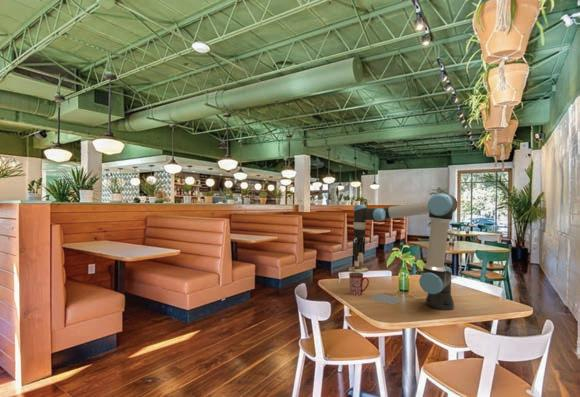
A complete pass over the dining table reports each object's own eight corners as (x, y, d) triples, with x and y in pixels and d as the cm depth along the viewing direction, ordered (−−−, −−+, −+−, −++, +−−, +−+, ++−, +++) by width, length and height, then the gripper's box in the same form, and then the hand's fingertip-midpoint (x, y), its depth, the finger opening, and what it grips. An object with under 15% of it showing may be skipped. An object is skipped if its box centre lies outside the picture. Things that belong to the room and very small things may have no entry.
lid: (371, 270, 205) (371, 253, 205) (362, 273, 195) (363, 255, 195) (354, 267, 212) (354, 250, 212) (345, 270, 203) (345, 252, 203)
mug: (346, 295, 202) (347, 274, 202) (350, 292, 210) (351, 271, 210) (366, 298, 196) (367, 276, 196) (370, 295, 204) (370, 273, 204)
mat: (403, 299, 196) (403, 298, 196) (393, 305, 184) (393, 304, 184) (378, 294, 206) (378, 293, 206) (368, 299, 194) (368, 298, 194)
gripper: (360, 227, 213) (359, 262, 213) (347, 229, 199) (346, 266, 199) (370, 228, 208) (370, 264, 208) (358, 230, 194) (357, 268, 194)
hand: (358, 265), depth 204 cm, fingers closed on lid, 5 cm apart
